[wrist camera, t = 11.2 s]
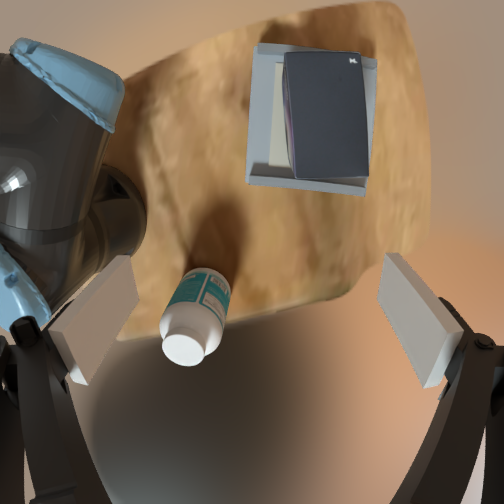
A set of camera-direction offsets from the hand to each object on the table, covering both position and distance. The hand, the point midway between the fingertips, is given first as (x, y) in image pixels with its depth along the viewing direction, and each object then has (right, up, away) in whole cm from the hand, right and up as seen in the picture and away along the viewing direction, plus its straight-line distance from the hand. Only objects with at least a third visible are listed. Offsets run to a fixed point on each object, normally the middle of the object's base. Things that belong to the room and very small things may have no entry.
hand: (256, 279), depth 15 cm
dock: (+7, +17, +18) cm, 25 cm away
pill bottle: (-7, -4, +28) cm, 29 cm away
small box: (+6, +16, +15) cm, 23 cm away
